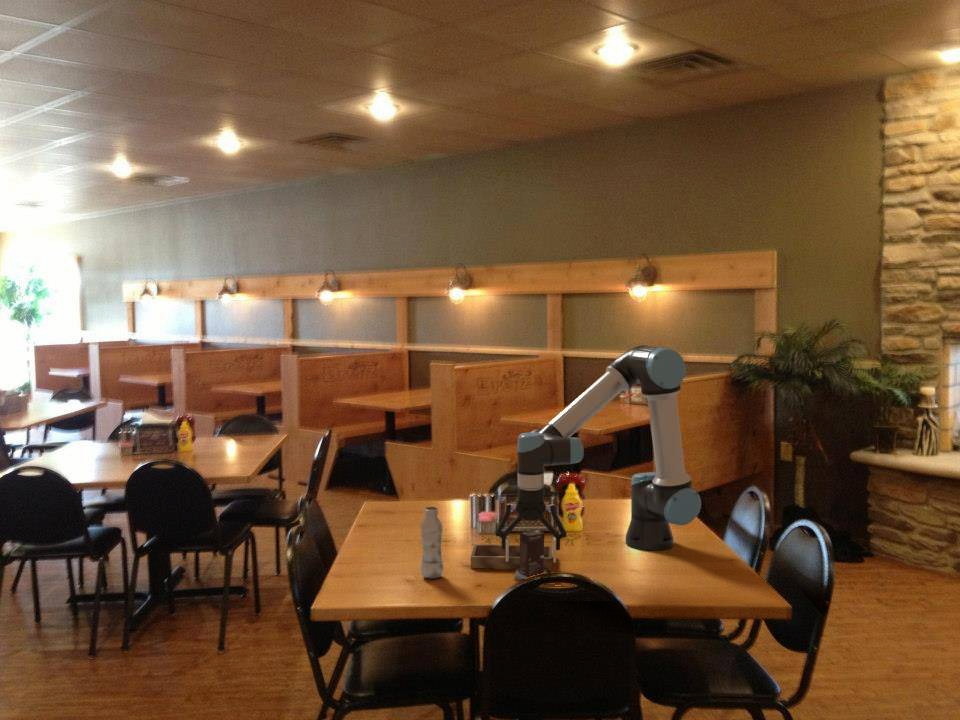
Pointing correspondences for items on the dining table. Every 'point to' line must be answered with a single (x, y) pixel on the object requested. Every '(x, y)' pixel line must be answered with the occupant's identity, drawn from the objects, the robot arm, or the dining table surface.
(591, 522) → the dining table surface
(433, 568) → the plastic bottle
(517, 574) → the tile
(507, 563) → the brown shallow rectangular container
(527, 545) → the box
